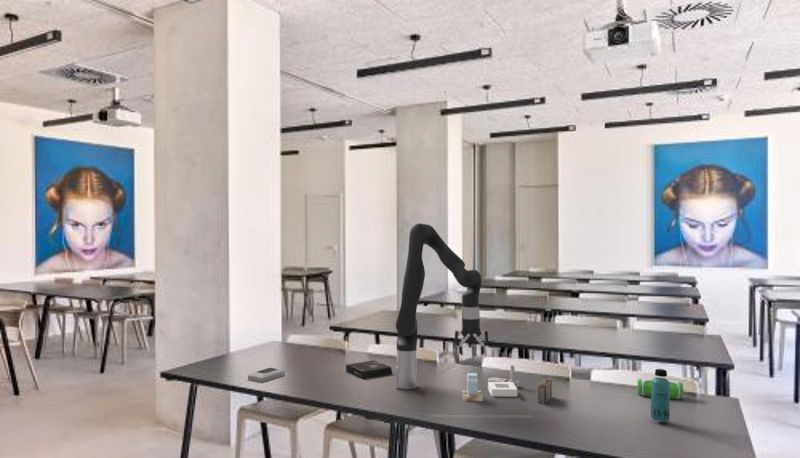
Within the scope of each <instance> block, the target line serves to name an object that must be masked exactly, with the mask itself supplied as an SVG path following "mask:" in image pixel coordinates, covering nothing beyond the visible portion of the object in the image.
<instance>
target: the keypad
mask: <svg viewBox="0 0 800 458" xmlns="http://www.w3.org/2000/svg"><path fill="white" fill-rule="evenodd" d="M285 374H286V371H285V370H283V369H282V368H278V367H277V368H276V367H273V366H272V367H271V366H269V367H267V368H263V369H259V370H257V371H253V372H251V373H249V374H248V375H247V380H249V381H253V382H257V383H262V384H263V383H265V382H270V381H271V380H275V379H279V378H281V377H284V376H286V375H285Z"/></svg>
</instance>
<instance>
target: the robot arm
mask: <svg viewBox="0 0 800 458" xmlns="http://www.w3.org/2000/svg"><path fill="white" fill-rule="evenodd" d="M424 245H427V247H429V248H431V249H432V250H433V251H435V253H436V254H437V257H438V258H439V261H440V262H441V263H442V264H443V266H445V268H447V269H448V270H449V271H450V272H451V273H452V275H453V277H454V279H455V280H456V282H457V283H458V284H459V285H460V286H462V287H463V288H466V291H465V292H464V293H463V294H462V295H461V304H462V305H461V306H462V307H461V328H462V329H461V330H455V331H454V345H455V346H457V347H458V353H459V355H460V356H463V355H464V354H463V345H464V343H466V341H467V342H476V341H477V342H478V344H479V345H480V356H483V355H484V354H485V347H486V346H489V332H488V330H487V329H484V330H481V320H480V319H481V316H480V314H481V313H480V303H479V301H480V299H479V296H480V293H481V286H482V275H481V273H480V272H479V271H478V270H476V269H469V270H467V269H466V268H465V267H466V264H465V263H466V262H464V260H463V259H462V258H461V257H460V256H459V255H458V254H456V252H455V251H453V250H452V249H451V248H450V246H448V245H447V243H446V242H445V241H444V240H443V239H442V237H441V236H440V235H439V234H438V232H437V230H436V229H435V228H434V227H433V226H432V225H430V224H427V223H420V222H418V223H417V222H416V223H415V224H413V225H412V226H411V228H410V231H409V237H408V252H407V259H406V265H405V272H404V277H403V282H402V290H401V291H402V293H401V303H400V307H399V311H398V315H397V319H396V322H395V329H396V331H397V339H396V367H395V369H396V370H395V371H396V375H395V376H396V377H395V378H396V379H395V380H396V381H395V383H396V387H395V388H396V389H400V390H412V389H413V390H414V389H416V388H417V385H418V384H417V382H418V381H417V379H418V378H417V376H418V374H417V372H418V371H417V370H418V369H417V368H418V367H417V366H418V365H417V355H418V354H417V353H418V352H417V347H418V345H417V344H418V320H417V318H416V317H417V309H418V305H419V301H420V298H421V296H422V292H423V288H424V284H425V283H424V282H425V277H426V270H425V266H424V262H423V249H424ZM461 335H462V339H461V340H460V341H459V337H460V336H461ZM481 335H482V336H483V337H484V341H482V339H481V338H480V336H481Z"/></svg>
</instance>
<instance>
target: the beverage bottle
mask: <svg viewBox="0 0 800 458" xmlns="http://www.w3.org/2000/svg"><path fill="white" fill-rule="evenodd" d="M654 376H657V377H654V378H652V379H653V380H652V397H650V398H651V400H650V402H651V403H650V417H651V419H652V420H654V421H657V422H658V421H659V422H668V421H669V420H670V417H671V416H670V406H671V405H670V400H671V399H670V382H669V381H668V379H667V378H666V377H668V371H667V370H666V369H662V368H657V369H655V371H654Z"/></svg>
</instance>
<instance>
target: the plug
mask: <svg viewBox="0 0 800 458" xmlns="http://www.w3.org/2000/svg"><path fill="white" fill-rule="evenodd" d="M478 376H479V375H478V373H477V372H468V373H466V391H467V395H478V391H479V390H478V389H479V388H478V387H479V386H478V383H479V382H478V381H479V380H478V379H479V378H478Z"/></svg>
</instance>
